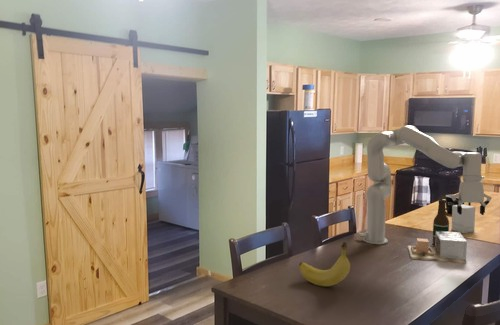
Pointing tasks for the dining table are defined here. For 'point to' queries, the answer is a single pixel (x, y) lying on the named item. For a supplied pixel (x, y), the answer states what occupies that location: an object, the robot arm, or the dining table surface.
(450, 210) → the mug
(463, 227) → the supplement box
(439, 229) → the beer bottle
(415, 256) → the housing base
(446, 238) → the cover
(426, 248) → the jaw block
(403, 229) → the dining table surface
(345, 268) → the banana
